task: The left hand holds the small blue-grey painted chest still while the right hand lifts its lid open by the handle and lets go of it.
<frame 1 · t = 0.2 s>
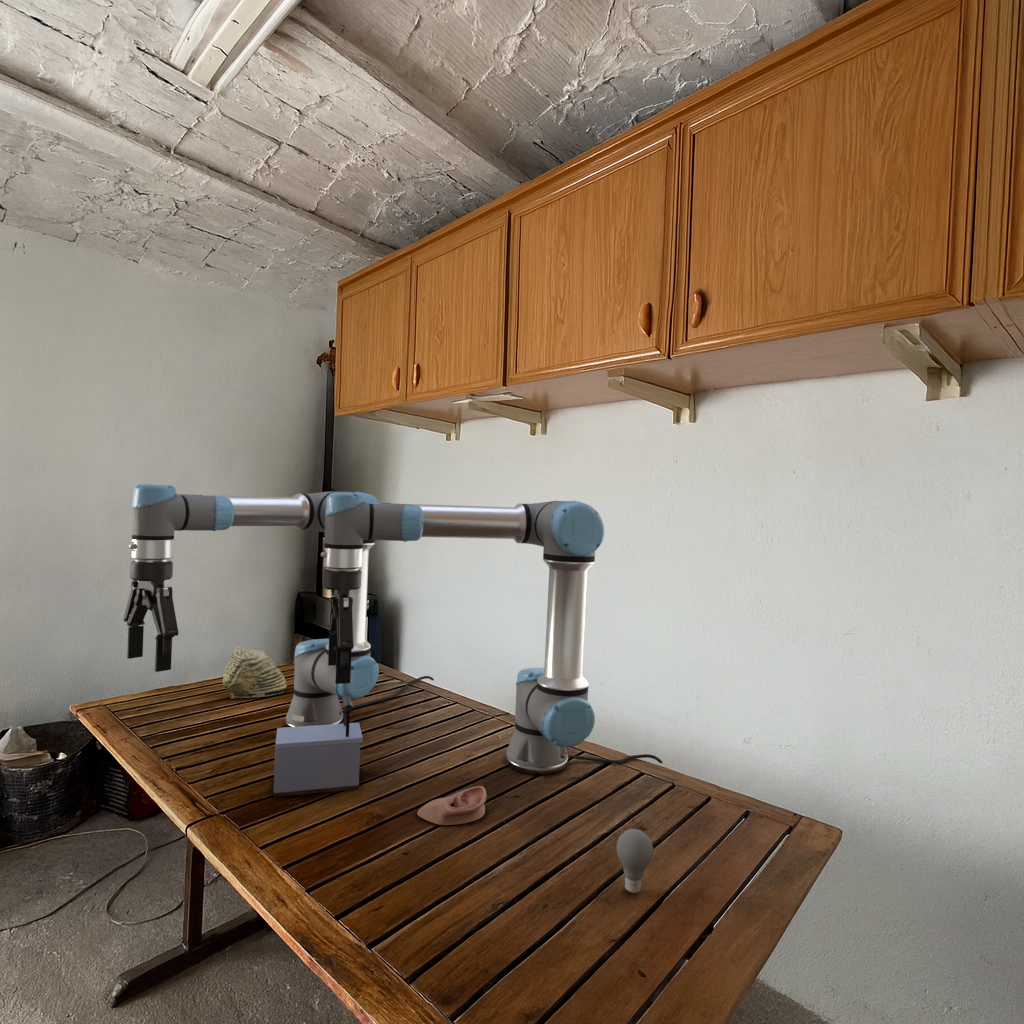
left hand: (148, 663, 129), 28 cm above the table, tool pointing down, fingers open, 13 cm apart
right hand: (338, 673, 128), 28 cm above the table, tool pointing down, fingers open, 13 cm apart
fossil: (254, 694, 198), on the table
chest: (316, 783, 140), on the table
lid: (320, 718, 140), point 14 cm above the table, hinge at 0.0°
anatomical model: (452, 813, 129), on the table
light bulb: (632, 891, 106), on the table
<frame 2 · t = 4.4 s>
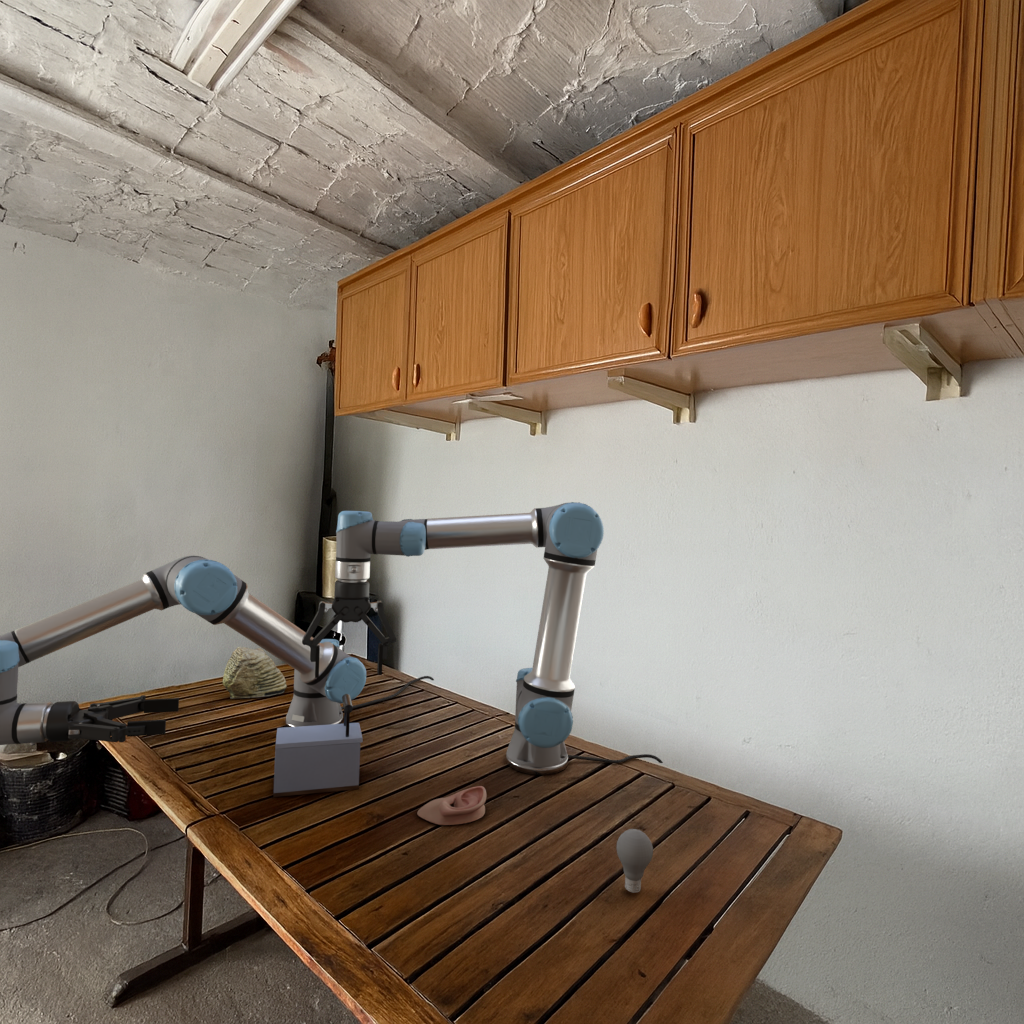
left hand: (172, 715, 131), 17 cm above the table, tool horizontal, fingers open, 13 cm apart
right hand: (348, 675, 141), 24 cm above the table, tool pointing down, fingers open, 13 cm apart
nothing on the table moved.
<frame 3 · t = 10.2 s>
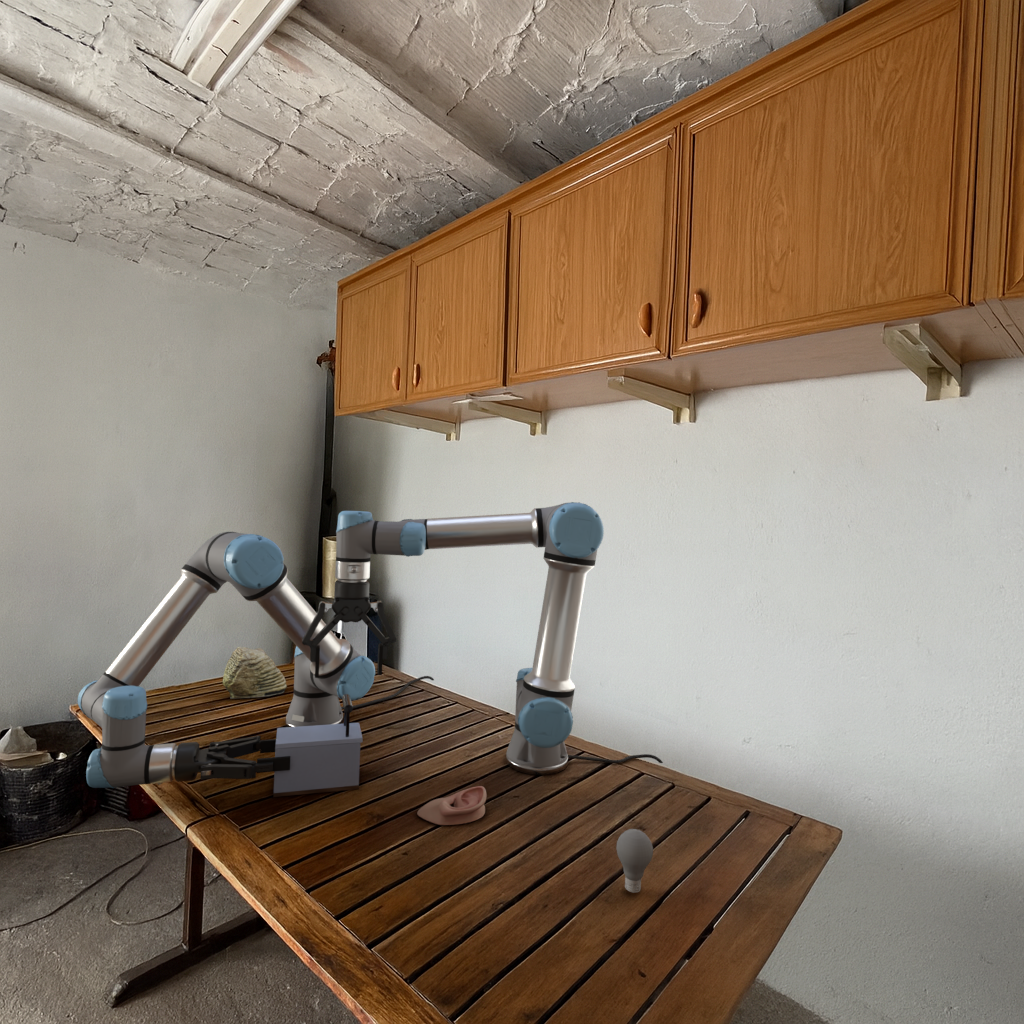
left hand: (290, 753, 138), 7 cm above the table, tool horizontal, fingers closed on chest, 10 cm apart
right hand: (348, 675, 141), 24 cm above the table, tool pointing down, fingers open, 13 cm apart
chest: (316, 783, 140), on the table, touching left hand
everything else where it was.
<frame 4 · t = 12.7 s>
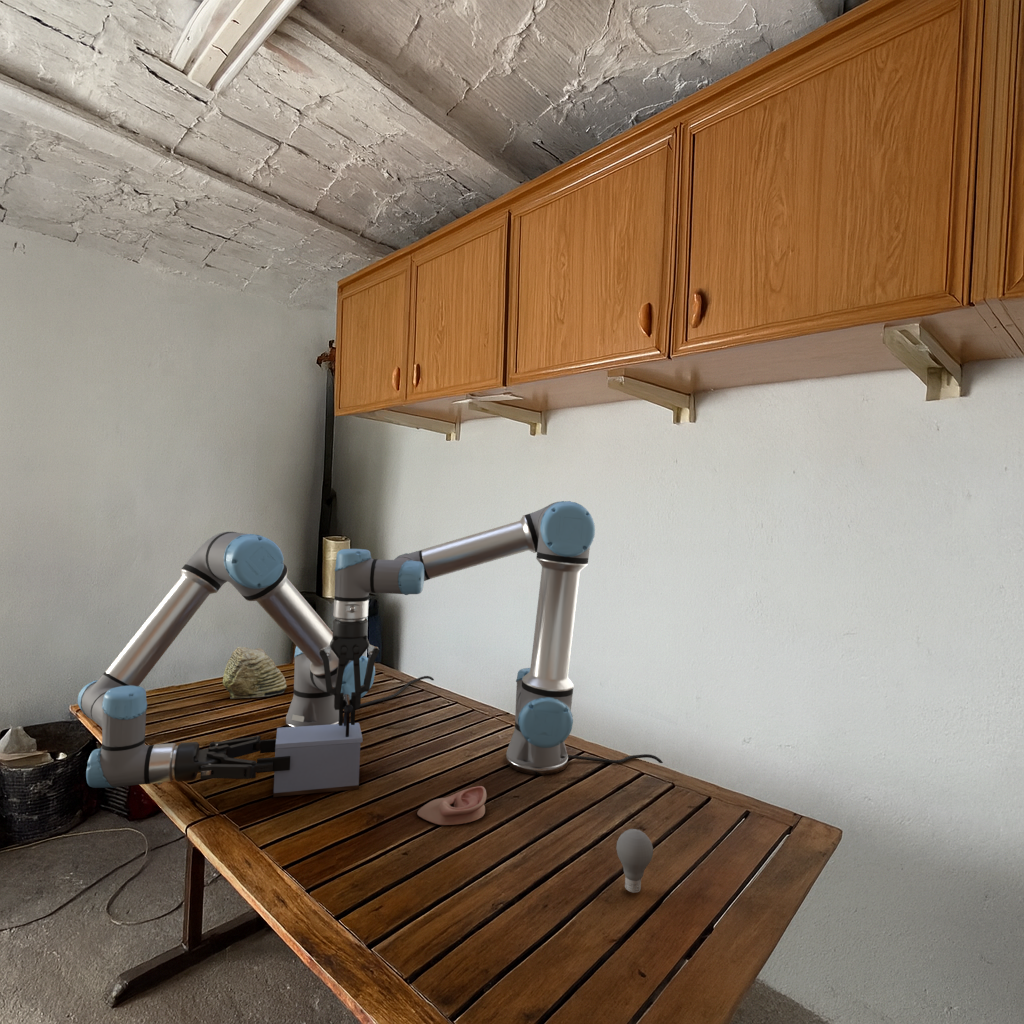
left hand: (290, 753, 138), 7 cm above the table, tool horizontal, fingers closed on chest, 10 cm apart
right hand: (346, 723, 142), 13 cm above the table, tool pointing down, fingers closed on lid, 2 cm apart
chest: (316, 783, 140), on the table, touching left hand
lid: (320, 718, 140), point 14 cm above the table, hinge at -0.1°, touching right hand
everything else where it was.
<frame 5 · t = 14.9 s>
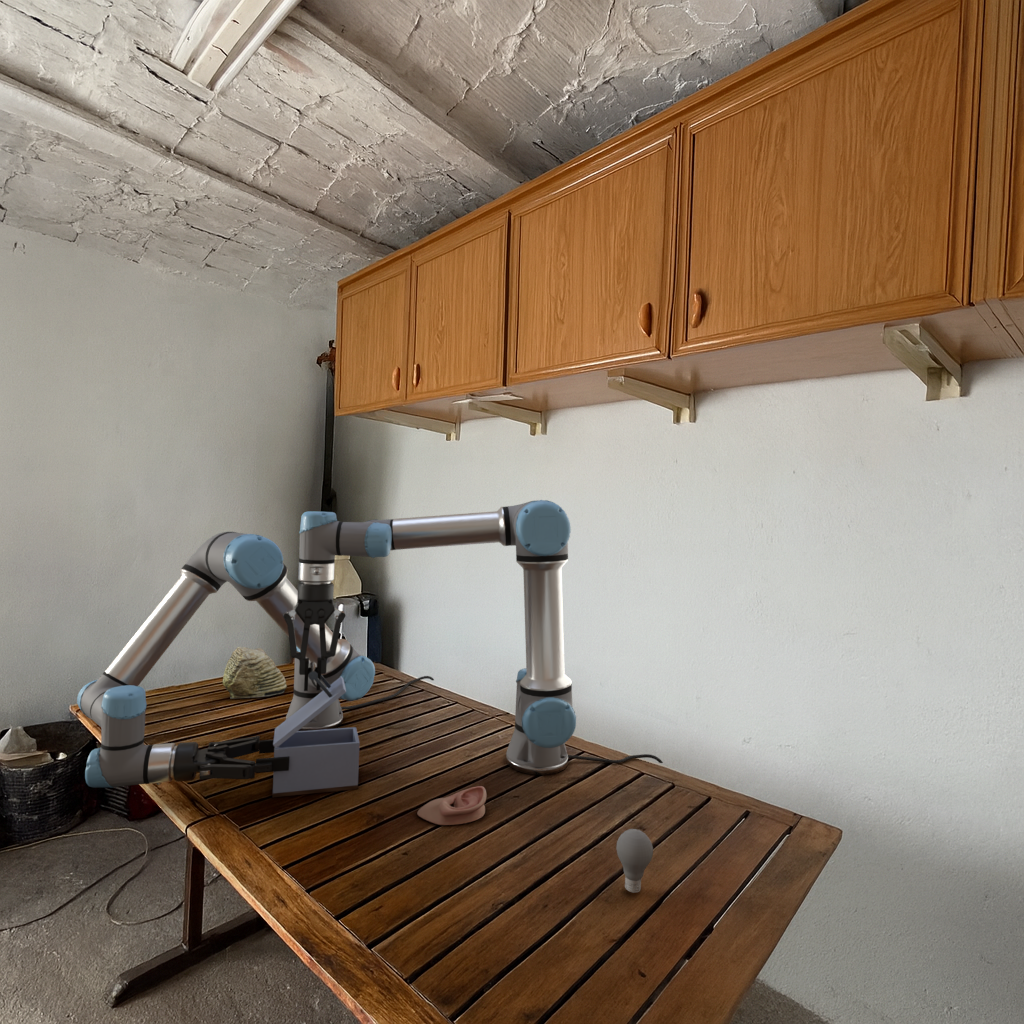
left hand: (289, 753, 138), 7 cm above the table, tool horizontal, fingers closed on chest, 10 cm apart
right hand: (312, 688, 139), 21 cm above the table, tool pointing down, fingers closed on lid, 2 cm apart
chest: (315, 783, 140), on the table, touching left hand
lid: (299, 698, 138), point 19 cm above the table, hinge at 38.7°, touching right hand
everything else where it was.
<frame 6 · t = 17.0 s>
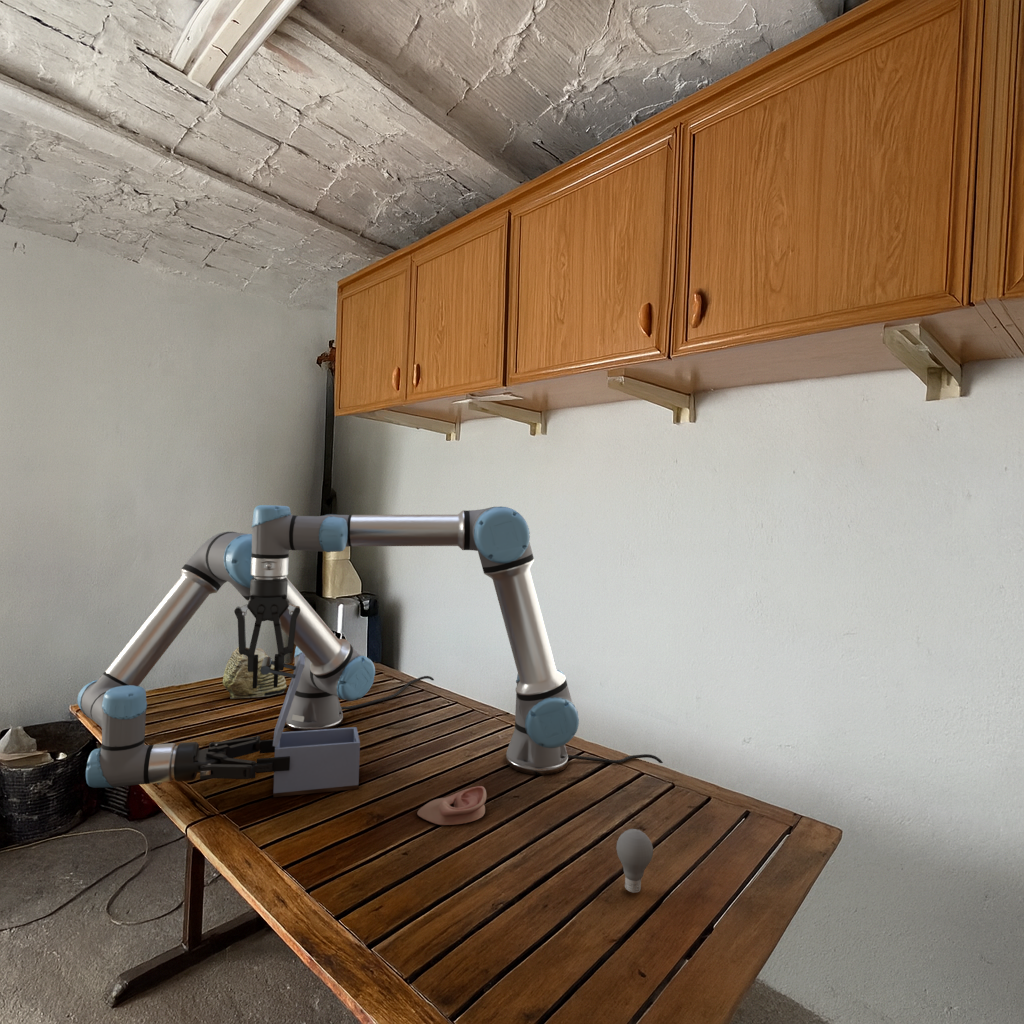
left hand: (290, 753, 138), 7 cm above the table, tool horizontal, fingers closed on chest, 10 cm apart
right hand: (265, 685, 136), 22 cm above the table, tool pointing down, fingers open, 3 cm apart
chest: (316, 783, 140), on the table, touching left hand
lid: (272, 694, 137), point 20 cm above the table, hinge at 74.1°
everything else where it was.
when the left hand's fingers open (7 cm above the table, at t = 21.0 s): chest stays where it is, on the table.
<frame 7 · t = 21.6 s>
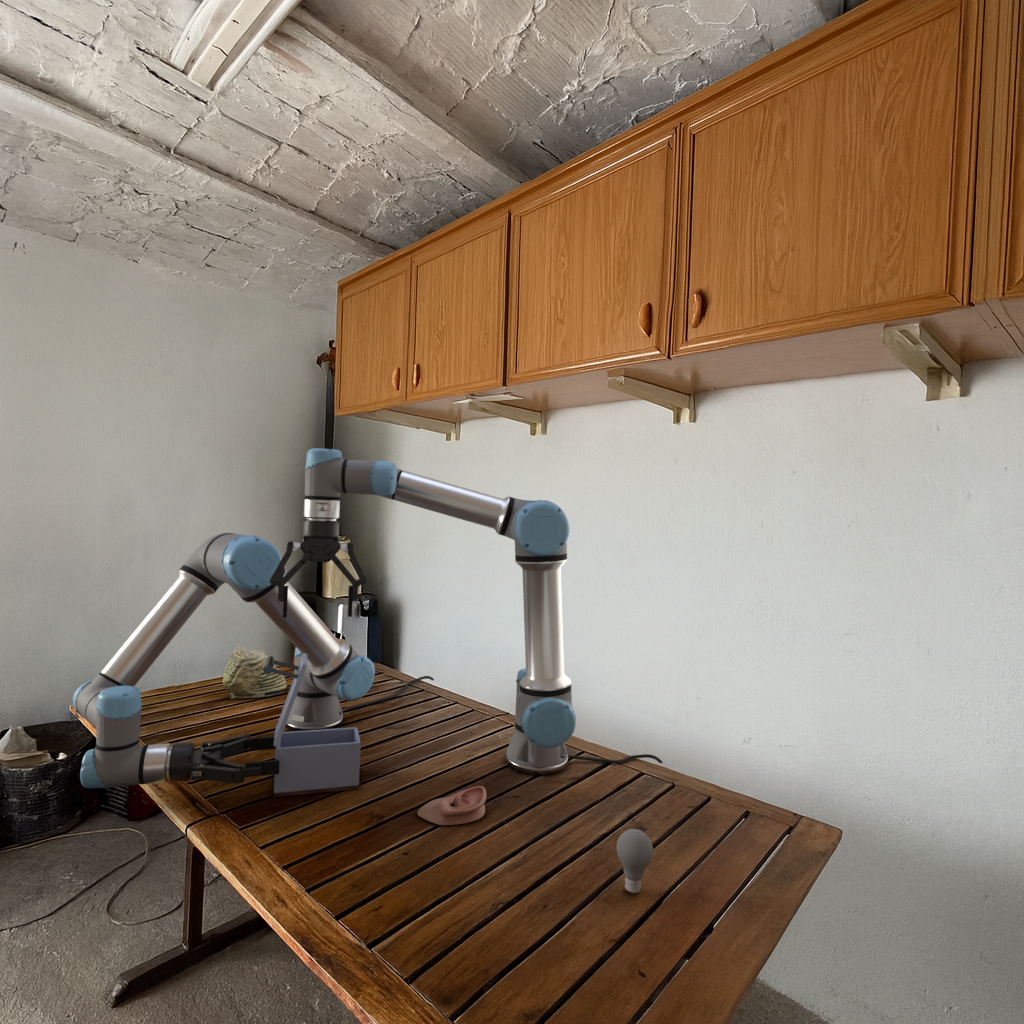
left hand: (280, 753, 137), 7 cm above the table, tool horizontal, fingers open, 13 cm apart
right hand: (317, 616, 139), 37 cm above the table, tool pointing down, fingers open, 13 cm apart
chest: (316, 783, 140), on the table
lid: (274, 694, 137), point 20 cm above the table, hinge at 72.9°
everything else where it was.
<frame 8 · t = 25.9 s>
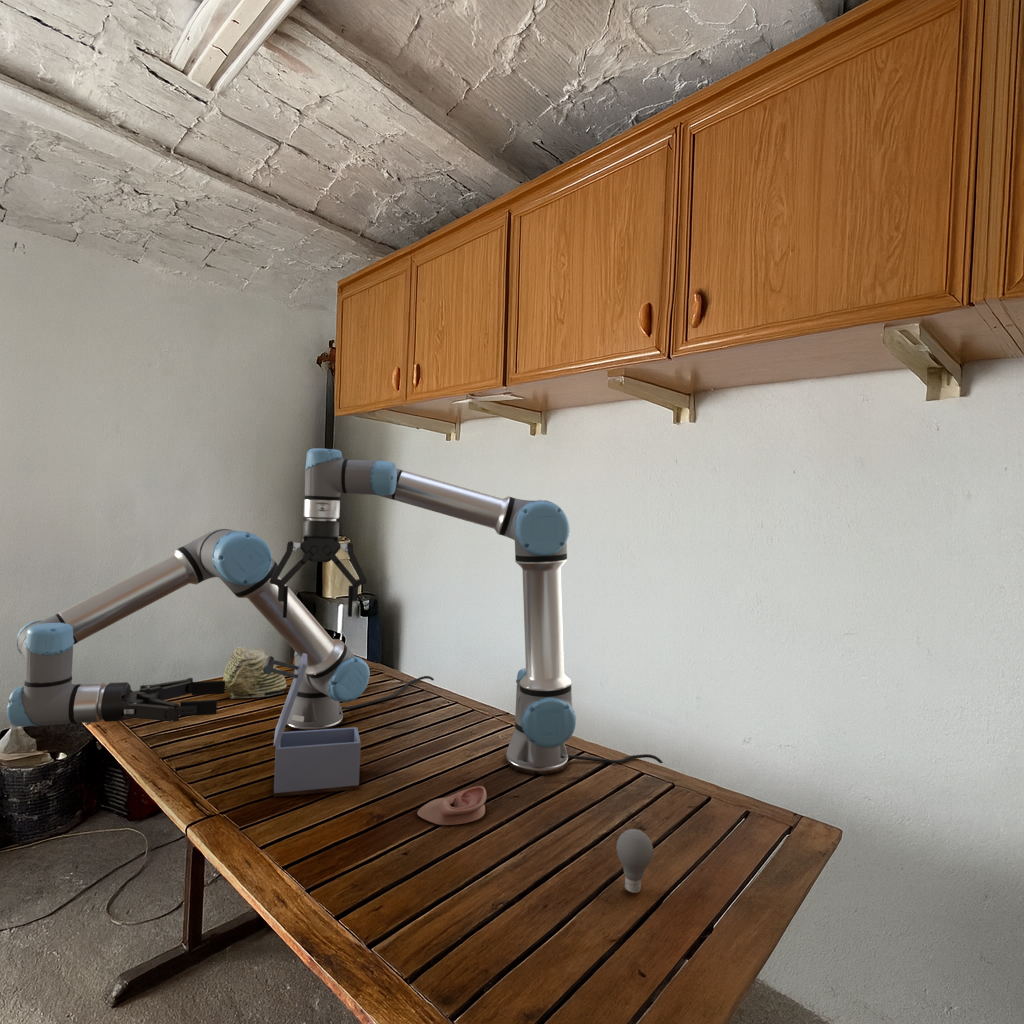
left hand: (221, 696, 133), 20 cm above the table, tool horizontal, fingers open, 13 cm apart
right hand: (317, 616, 139), 37 cm above the table, tool pointing down, fingers open, 13 cm apart
nothing on the table moved.
at the end: lid at +73° (first picture: +0°); the left hand is holding nothing; the right hand is holding nothing; chest tilted 0°; chest never tilted more than 1° during the clip; chest moved 0.0 cm from its start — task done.
